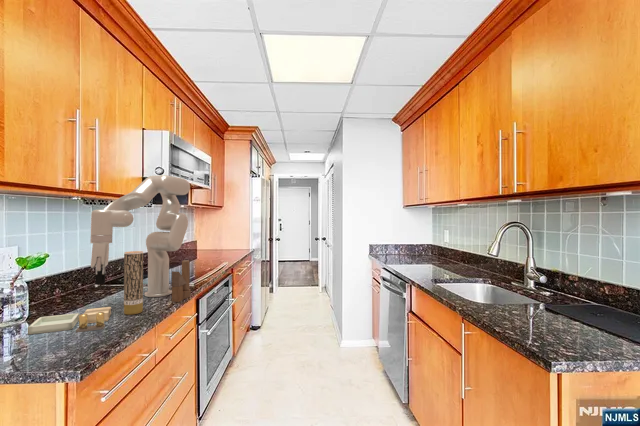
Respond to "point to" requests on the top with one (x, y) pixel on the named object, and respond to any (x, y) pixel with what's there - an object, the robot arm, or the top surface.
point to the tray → (53, 323)
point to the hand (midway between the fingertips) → (100, 283)
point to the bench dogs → (98, 326)
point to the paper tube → (133, 282)
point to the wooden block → (181, 283)
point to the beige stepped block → (92, 312)
